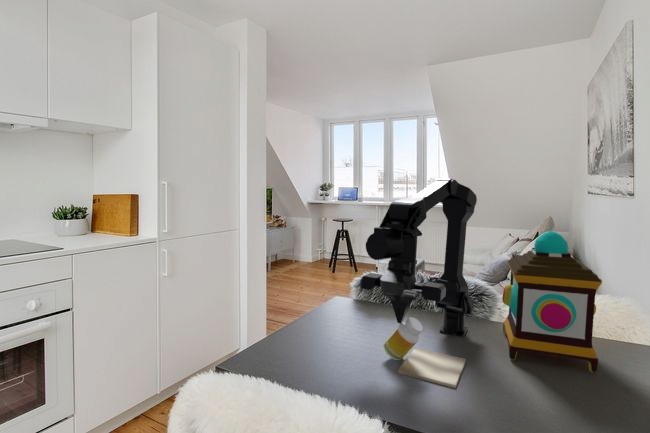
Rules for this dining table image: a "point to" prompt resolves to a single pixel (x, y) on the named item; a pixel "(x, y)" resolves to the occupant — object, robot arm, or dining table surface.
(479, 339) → the dining table surface
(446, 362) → the birch mat
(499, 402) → the dining table surface
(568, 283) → the decorative lantern
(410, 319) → the supplement bottle
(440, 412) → the dining table surface
